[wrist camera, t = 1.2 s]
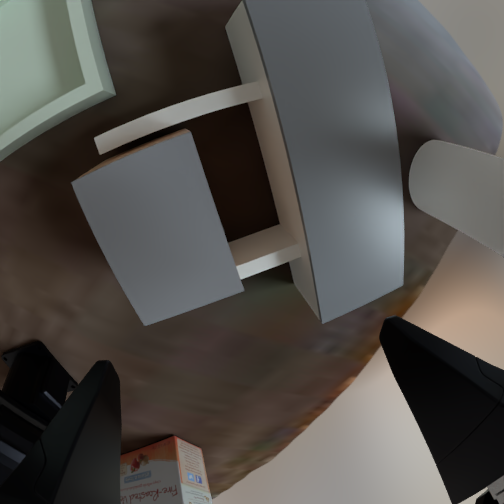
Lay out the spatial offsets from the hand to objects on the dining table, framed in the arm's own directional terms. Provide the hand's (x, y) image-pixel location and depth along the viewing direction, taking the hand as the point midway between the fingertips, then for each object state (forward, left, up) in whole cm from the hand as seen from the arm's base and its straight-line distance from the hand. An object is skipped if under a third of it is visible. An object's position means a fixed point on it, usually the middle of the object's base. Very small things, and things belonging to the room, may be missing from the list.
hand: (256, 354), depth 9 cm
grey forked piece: (+4, +2, -13) cm, 14 cm away
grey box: (-2, +2, -13) cm, 13 cm away
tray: (-9, +16, -13) cm, 23 cm away
